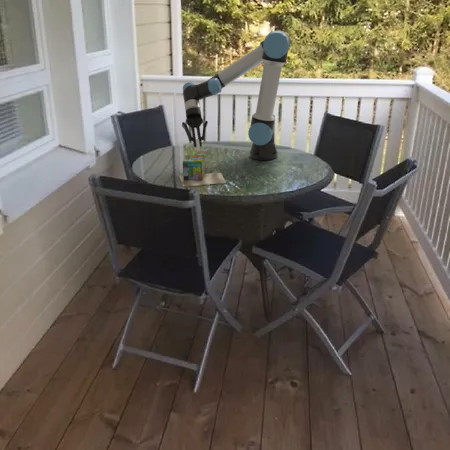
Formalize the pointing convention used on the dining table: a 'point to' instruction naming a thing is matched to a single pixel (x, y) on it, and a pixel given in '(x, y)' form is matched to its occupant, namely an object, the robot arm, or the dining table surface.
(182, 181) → the board
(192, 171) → the chalk box
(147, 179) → the dining table surface
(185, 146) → the dining table surface
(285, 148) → the dining table surface
